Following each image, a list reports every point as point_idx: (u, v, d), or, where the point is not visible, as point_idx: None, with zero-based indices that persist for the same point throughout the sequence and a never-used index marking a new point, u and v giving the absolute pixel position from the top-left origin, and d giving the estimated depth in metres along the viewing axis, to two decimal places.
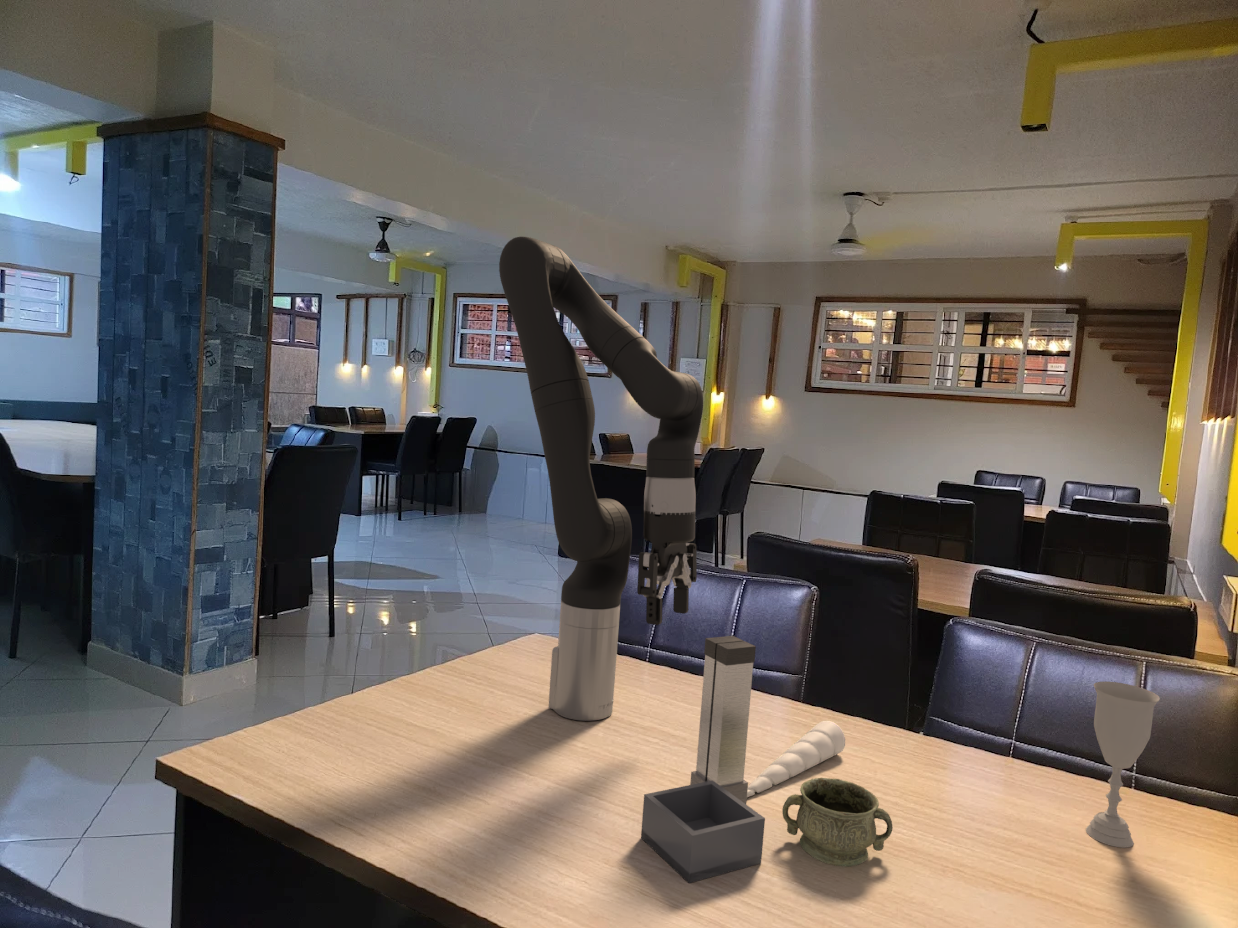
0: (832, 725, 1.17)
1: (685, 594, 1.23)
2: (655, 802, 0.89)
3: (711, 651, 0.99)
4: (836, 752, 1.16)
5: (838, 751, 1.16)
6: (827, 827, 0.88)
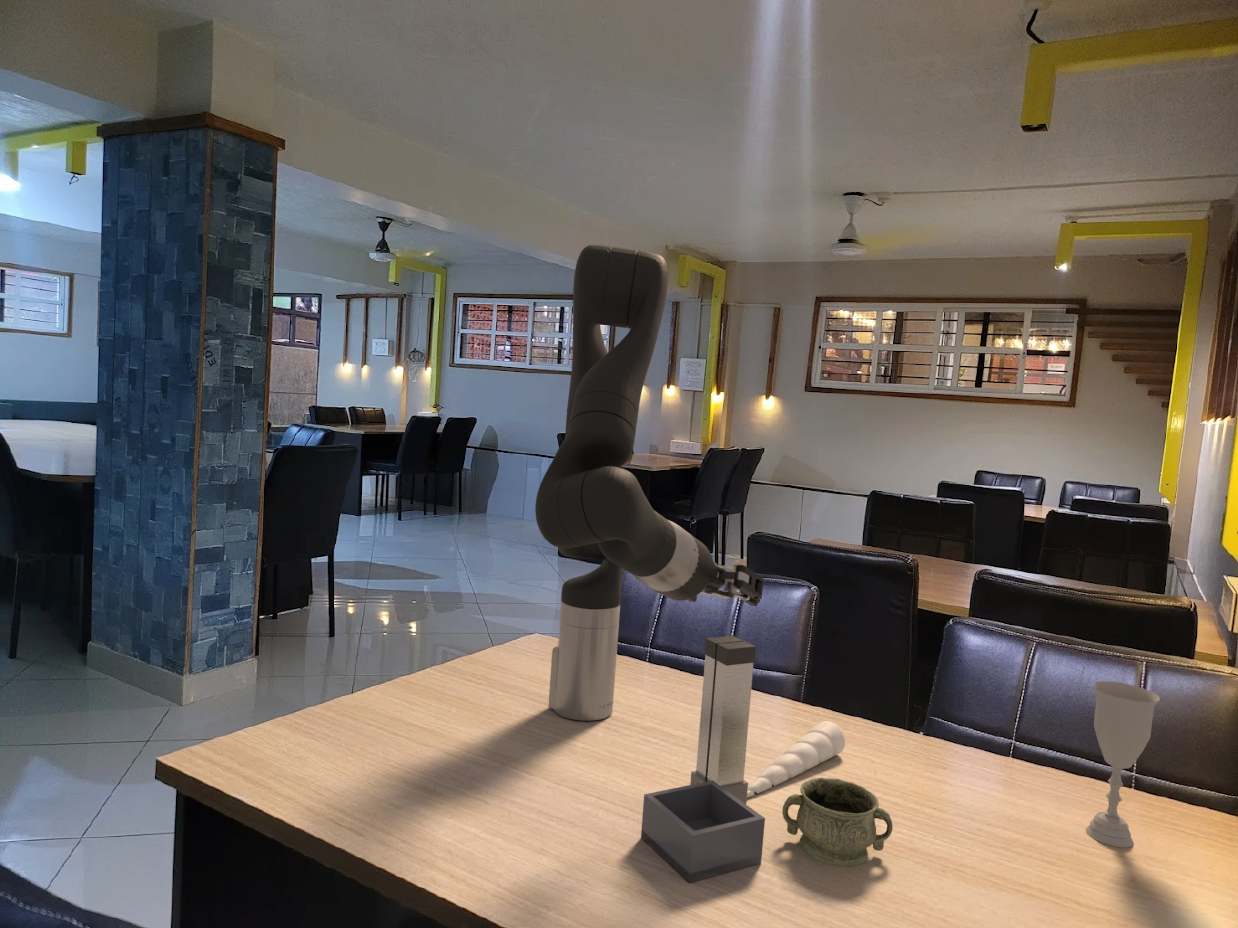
0: (832, 726, 1.17)
1: None
2: (655, 802, 0.89)
3: (712, 652, 0.99)
4: (836, 753, 1.15)
5: (838, 752, 1.16)
6: (828, 827, 0.88)
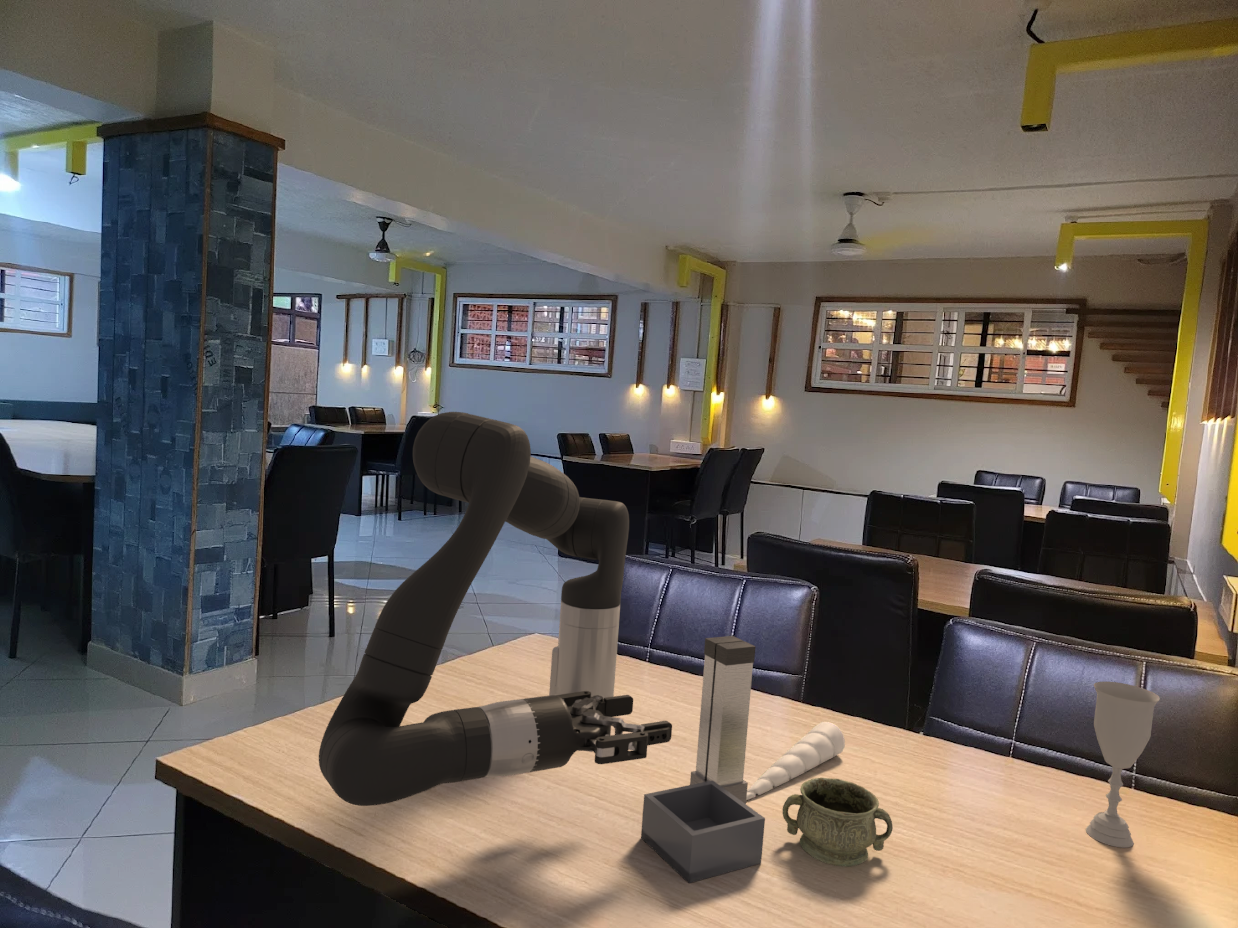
0: (831, 726, 1.17)
1: None
2: (655, 802, 0.89)
3: (711, 651, 0.99)
4: (836, 753, 1.15)
5: (837, 752, 1.16)
6: (828, 827, 0.88)
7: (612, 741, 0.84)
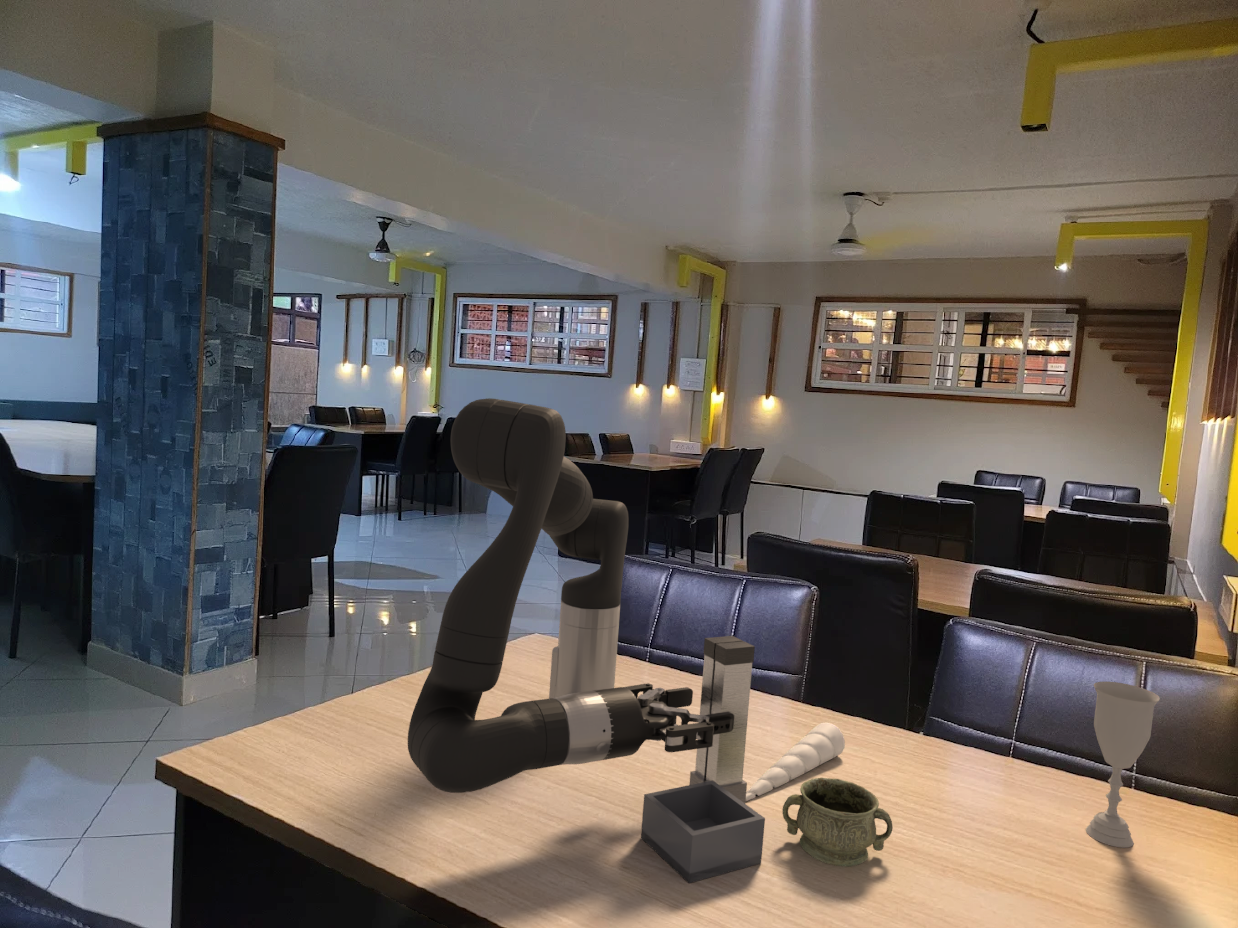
0: (832, 727, 1.17)
1: None
2: (655, 802, 0.89)
3: (710, 651, 0.99)
4: (835, 754, 1.15)
5: (837, 753, 1.16)
6: (828, 827, 0.88)
7: (681, 730, 0.89)
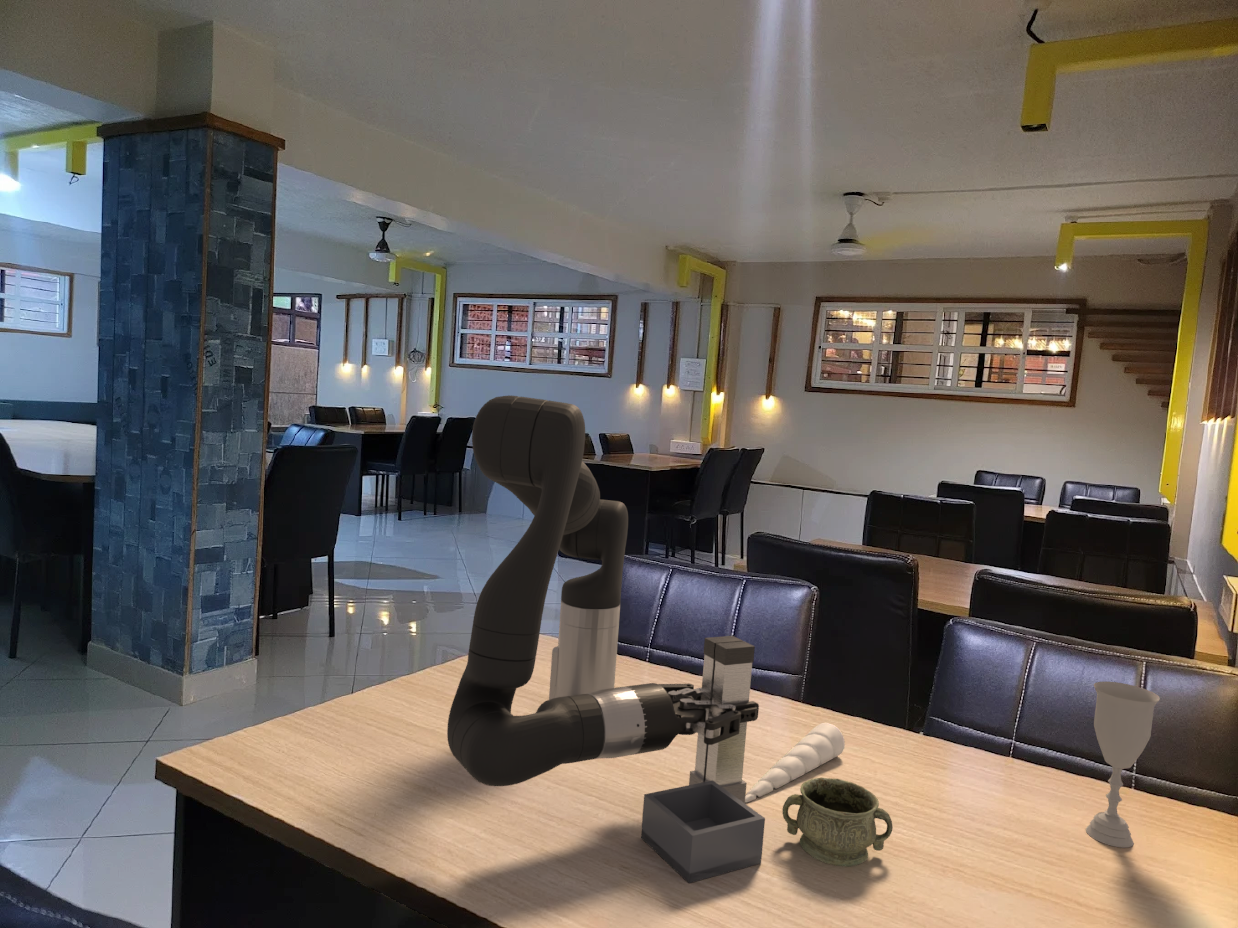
0: (831, 727, 1.16)
1: None
2: (655, 802, 0.89)
3: (710, 651, 0.99)
4: (835, 754, 1.15)
5: (837, 753, 1.15)
6: (828, 827, 0.88)
7: (719, 722, 0.92)
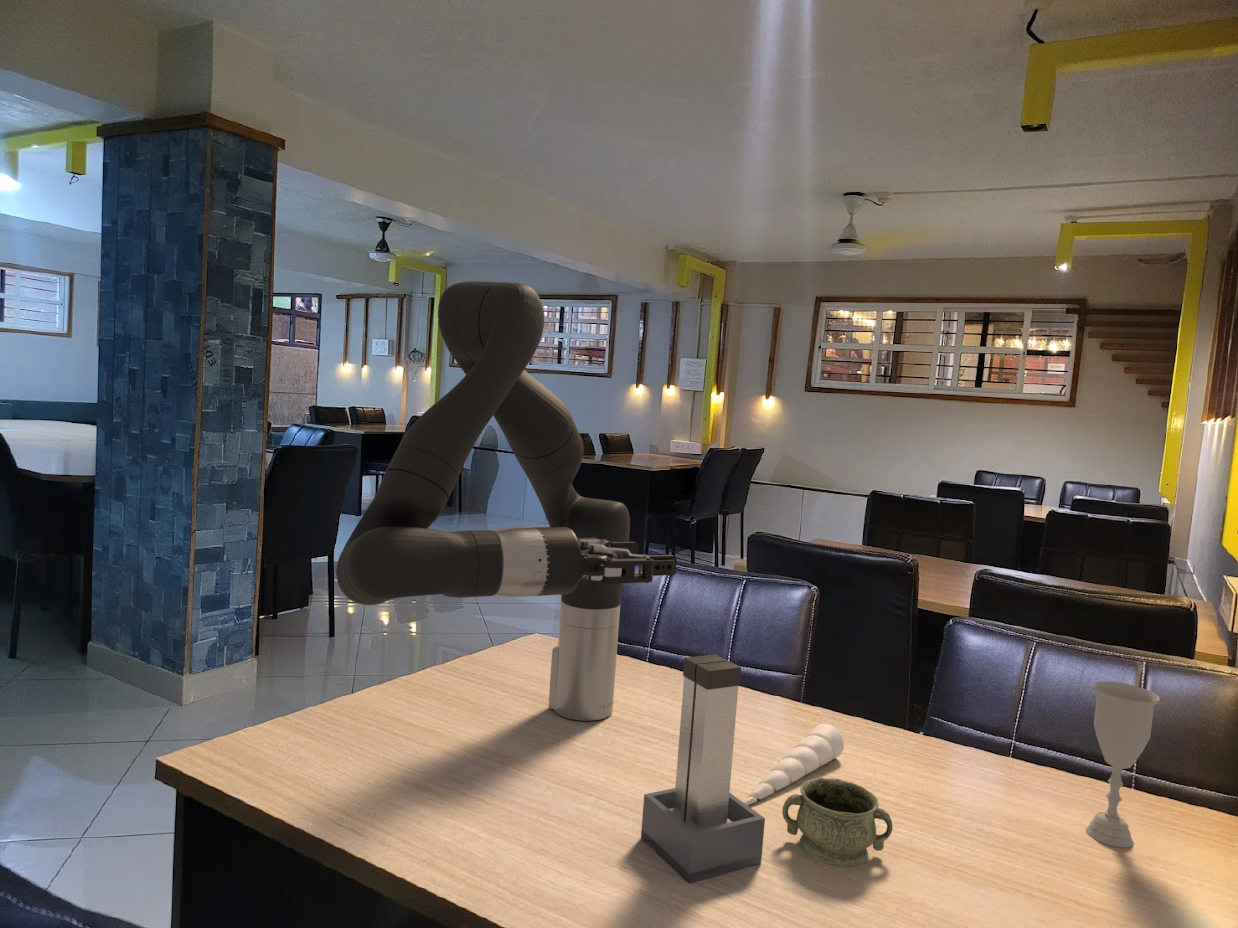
0: (830, 728, 1.16)
1: None
2: (655, 802, 0.89)
3: (691, 673, 0.87)
4: (835, 756, 1.14)
5: (837, 755, 1.15)
6: (828, 827, 0.88)
7: (619, 562, 0.87)
